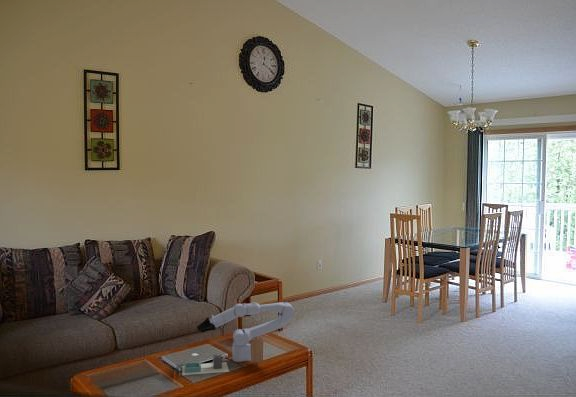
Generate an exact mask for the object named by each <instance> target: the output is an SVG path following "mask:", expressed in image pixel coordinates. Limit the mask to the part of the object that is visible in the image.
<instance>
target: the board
mask: <svg viewBox="0 0 576 397" xmlns="http://www.w3.org/2000/svg"><path fill="white" fill-rule="evenodd" d="M184 365H185V366H181V370H182V371H181V372H182V373H181V374H182V375H181V376H190V375H192V376H193V375H202V374H204V375H205V374H215V373H226V372H227V373H228V372H229V373H230V370H229V366H228V363H227V361H222V369H214V368H213V362H209V363H208V362H207V363H201V362H200V361H195V362H184Z"/></svg>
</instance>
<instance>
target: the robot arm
mask: <svg viewBox="0 0 576 397" xmlns="http://www.w3.org/2000/svg"><path fill="white" fill-rule="evenodd" d="M260 312H277V313H278V316H277V318H276V319H273V320H270V321H267V322H264V323H261V324H259V325H256V326H253V327H250V328H243V329H241V328H238V329H235V330H234V331H233V333H232V338H233V342H232V361H233V362H235V363H236V362H237V363H238V362H239V363H240V362H248V361H252V352H251V351H252V349H251V348H252V347H251V343H248V342H250V341H251V340H252V339H255V338H257V337H260V336H262V335H265V334H269V333H271V332H273V331H276V330H279V329H283V328H285V327H286V325H288V323H290V321H291V320H294V316H295V313H296V310H295V308H294V306H292V303H290V302H282V301H281V302H275V303H273V302H272V303H267V304H266V303H265V304H259V303H258V302H255V301H252V303H246V302H244V303H235V305H234V306H233V307H231V308H228V309H226V310H224V311H222V312H220V313H218V314H216V315H214V314H211V318H210V317H206V318H205V319H204V321H202V322H201V323H199V324H198V325H197V326H196V328H197V331H198V332H200V333H205V332H209V331H216V329H218V328H219V327H221V326H223V325H225V324H227V323H229V322H231V321H232V320H233V321H234V320H235V319H236V318H243V317H244V316H251V315H252V316H253V315H259V313H260Z"/></svg>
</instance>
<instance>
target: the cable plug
mask: <svg viewBox="0 0 576 397" xmlns="http://www.w3.org/2000/svg"><path fill="white" fill-rule="evenodd" d="M222 362H223V356H222V354H214V355H212V363H213V368H214V369H222Z"/></svg>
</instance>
